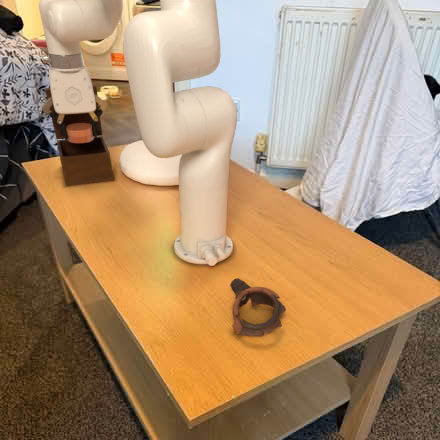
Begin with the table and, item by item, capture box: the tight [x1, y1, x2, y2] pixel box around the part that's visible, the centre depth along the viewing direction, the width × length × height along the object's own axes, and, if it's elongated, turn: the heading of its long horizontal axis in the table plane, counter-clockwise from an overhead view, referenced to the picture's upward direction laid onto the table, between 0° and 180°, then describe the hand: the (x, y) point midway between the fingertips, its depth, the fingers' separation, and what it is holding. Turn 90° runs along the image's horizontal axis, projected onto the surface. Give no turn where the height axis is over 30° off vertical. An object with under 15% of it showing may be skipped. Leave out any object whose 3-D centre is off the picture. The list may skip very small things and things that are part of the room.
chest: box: [56, 135, 115, 187], centre depth 114 cm, size 14×13×8 cm
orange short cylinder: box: [65, 123, 94, 143], centre depth 109 cm, size 7×7×3 cm
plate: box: [118, 139, 182, 187], centre depth 118 cm, size 28×6×27 cm
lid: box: [44, 84, 103, 140], centre depth 111 cm, size 14×13×5 cm
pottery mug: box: [230, 277, 286, 338], centre depth 69 cm, size 12×10×8 cm
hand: (80, 136), depth 109 cm, fingers closed on orange short cylinder, 6 cm apart
